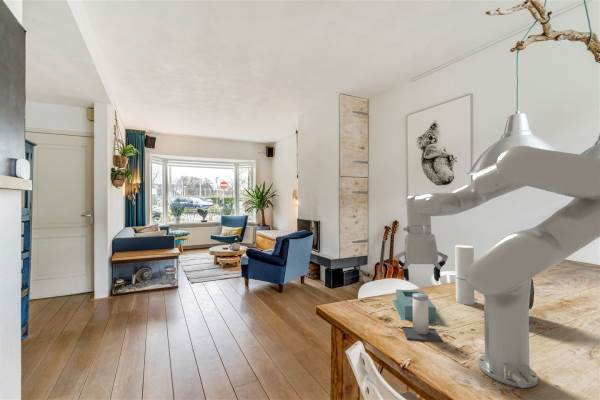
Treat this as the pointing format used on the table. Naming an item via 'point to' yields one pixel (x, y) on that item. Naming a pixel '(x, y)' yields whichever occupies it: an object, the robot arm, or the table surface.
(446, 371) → the table surface
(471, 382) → the table surface
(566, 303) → the table surface
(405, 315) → the teal hollow block
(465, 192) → the robot arm
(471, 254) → the cylindrical container
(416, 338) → the mat
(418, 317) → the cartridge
